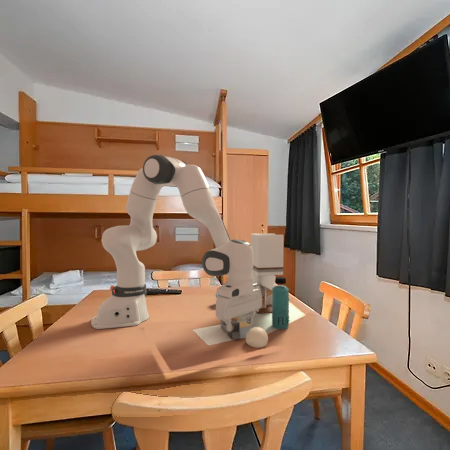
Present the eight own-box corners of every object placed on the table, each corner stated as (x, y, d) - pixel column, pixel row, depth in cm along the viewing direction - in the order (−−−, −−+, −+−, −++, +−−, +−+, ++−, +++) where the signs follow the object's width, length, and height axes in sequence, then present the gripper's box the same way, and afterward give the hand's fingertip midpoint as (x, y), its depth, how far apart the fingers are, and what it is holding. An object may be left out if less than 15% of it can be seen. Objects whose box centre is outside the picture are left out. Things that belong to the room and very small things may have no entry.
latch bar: (240, 338, 98) (240, 323, 98) (232, 340, 97) (232, 325, 96) (230, 329, 106) (230, 315, 106) (222, 330, 105) (222, 316, 105)
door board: (208, 350, 93) (208, 331, 93) (192, 333, 106) (192, 317, 106) (265, 337, 103) (265, 320, 103) (244, 323, 116) (244, 308, 116)
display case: (257, 317, 124) (258, 235, 123) (250, 309, 134) (251, 233, 133) (282, 315, 126) (283, 234, 125) (274, 308, 136) (274, 233, 135)
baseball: (241, 346, 96) (241, 326, 96) (260, 342, 99) (260, 322, 99) (251, 355, 90) (251, 333, 90) (271, 350, 93) (271, 329, 93)
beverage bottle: (276, 334, 106) (276, 279, 105) (268, 327, 112) (269, 276, 112) (292, 332, 107) (292, 278, 107) (284, 325, 114) (284, 275, 113)
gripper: (253, 281, 110) (253, 317, 110) (212, 290, 95) (212, 332, 96) (266, 283, 105) (266, 321, 105) (226, 293, 91) (226, 337, 91)
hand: (240, 326), depth 100 cm, fingers open, 8 cm apart
